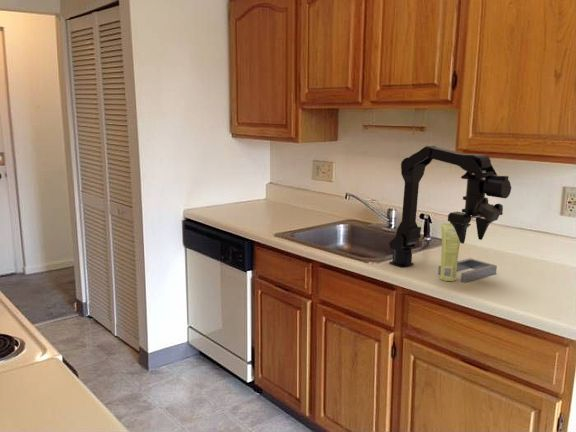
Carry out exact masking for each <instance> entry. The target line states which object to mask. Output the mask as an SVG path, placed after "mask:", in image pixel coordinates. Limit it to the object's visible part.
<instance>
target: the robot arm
mask: <svg viewBox="0 0 576 432" xmlns="http://www.w3.org/2000/svg"><path fill="white" fill-rule="evenodd" d="M433 160H435V161H436V160H437V161H439V162H442V163H443V162H444V163H447V164H451V165H455V166H458V167H460V168H461V169H462V170H464V171H465V173H464V174H463V175H461V176H460V178H461V179H463V180H466V188H465V189H466V190H465V191H466V193H465V196H462V200H464V201H465V202H464V203H465V205H464V208H462V209H461V211H453V212H450V213H448V215H447V222H449V223H451V224H452V225H453V227H454V228H455V230H456V233H457V235H458V238H459V240H460V244H465V242H466V236H467V229H468V228H469V227H471V221H472V219H475V224H476V231H477V237H478V240H479V241H482V240H483V239H484V236H485V234H486V232H487V229H488V227H489V225H490V224H492V223H494V222H495V221H498V219H499V217H500V216H503V214H504V213H503V211H504V206H503V204H501V203H495V204H491V203H489V198H488V197H492V198H498V199H499V198H500V199H508V197H509V196H510V195H511V191H512V186H511V185H512V184H511V182H510V179H509V176H508V175H498V173H497V172H496V170H495V168H494V167H493V164H492V160H491V159H490V156H488V155H487V154H485V153H484V154H483V153H480V154H479V153H464V152H463V153H462V152H458V151H455V150H449V149H445V148H442V147H441V148H440V147H438V146H435V145H426V146H424V147H422V149H420V150H419V151H417V152H414V153H413V154H412V155H410V156H409V157H405V158H404V159H403V160H402V161H401V163H400V169H401V170H400V172H401V174H400V175H401V176H402V179H403V182H404V189H403V201H402V203H403V204H402V212H401V213H402V215H401V222H400V223H399V224H398V226H397V229H396V233H395V237H393V238H392V239H391V240H390V241H389V242H388V245H389V248H390V250H391V249H392V260H391V261H389V262H388V263H389V264H390V265H394V266H396V267H397V266H398V267H400V268H404V267H409V266H412V265H415V263H414V262H413V261H412V260H413V253H412V250H413V248H415V247H416V245H417V243H418V242H419V240H420V239H421V238H422V236H421V232H422V227H421V226H418V225H417V224H418V223H417V219H416V218H417V212H418V211H417V209H418V200H419V188H420V187H419V186H420V182H421V180H422V178H423V176H424V175H425V171H426V167H427V166H428V165H430V164H431V163H432V162H433ZM486 196H487V197H486Z"/></svg>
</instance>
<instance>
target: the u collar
mask: <svg viewBox="0 0 576 432" xmlns="http://www.w3.org/2000/svg"><path fill="white" fill-rule="evenodd" d="M497 268H498V265H496V264H493V263H492V264H491V263H488V262H485V261H482V260H478V259H474V258H471V257H470V258H466V259H465V258H464V259H461V260H458V261H457V270H456V272H459V271H463V270H467V269H471V270H467V271H463V272H461V275H460V282H461V283H464V284H465V283H469V282H471V281H476V280H479V279H480V280H481V279H483V278H486V277H490V276H494V275H496V274H497ZM437 269H438V271H437V272H438V273H437V274H438V275H439V276H441V265H438V267H437Z"/></svg>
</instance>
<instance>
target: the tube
mask: <svg viewBox="0 0 576 432" xmlns="http://www.w3.org/2000/svg"><path fill="white" fill-rule="evenodd" d="M440 228H441V257H440V258H441V260H440V266H441V275H439V277H440V280H442V281H445V282H454V281H456V277H457V271H456V270H457V261H459V260H458V259H459V254H460V253H459V251H460V247H461V246H460V245H461V243H460V240H459V238H458V235H457V233H456V230H455V228H454V227H453V225H452V224H451V223H450V222H449V223H448V222H442V223H441V227H440Z"/></svg>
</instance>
